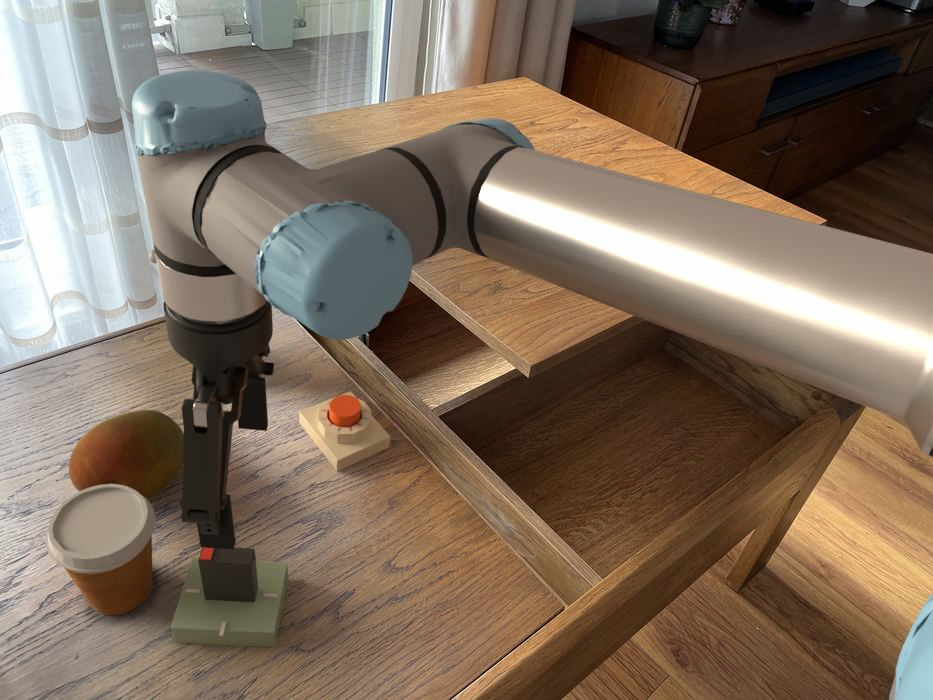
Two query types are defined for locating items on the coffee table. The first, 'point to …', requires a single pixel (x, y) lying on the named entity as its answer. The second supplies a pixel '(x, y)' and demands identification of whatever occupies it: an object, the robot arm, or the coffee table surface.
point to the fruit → (129, 453)
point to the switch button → (344, 411)
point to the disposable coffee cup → (105, 545)
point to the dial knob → (228, 574)
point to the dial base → (231, 611)
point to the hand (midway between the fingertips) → (237, 481)
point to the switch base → (344, 435)
